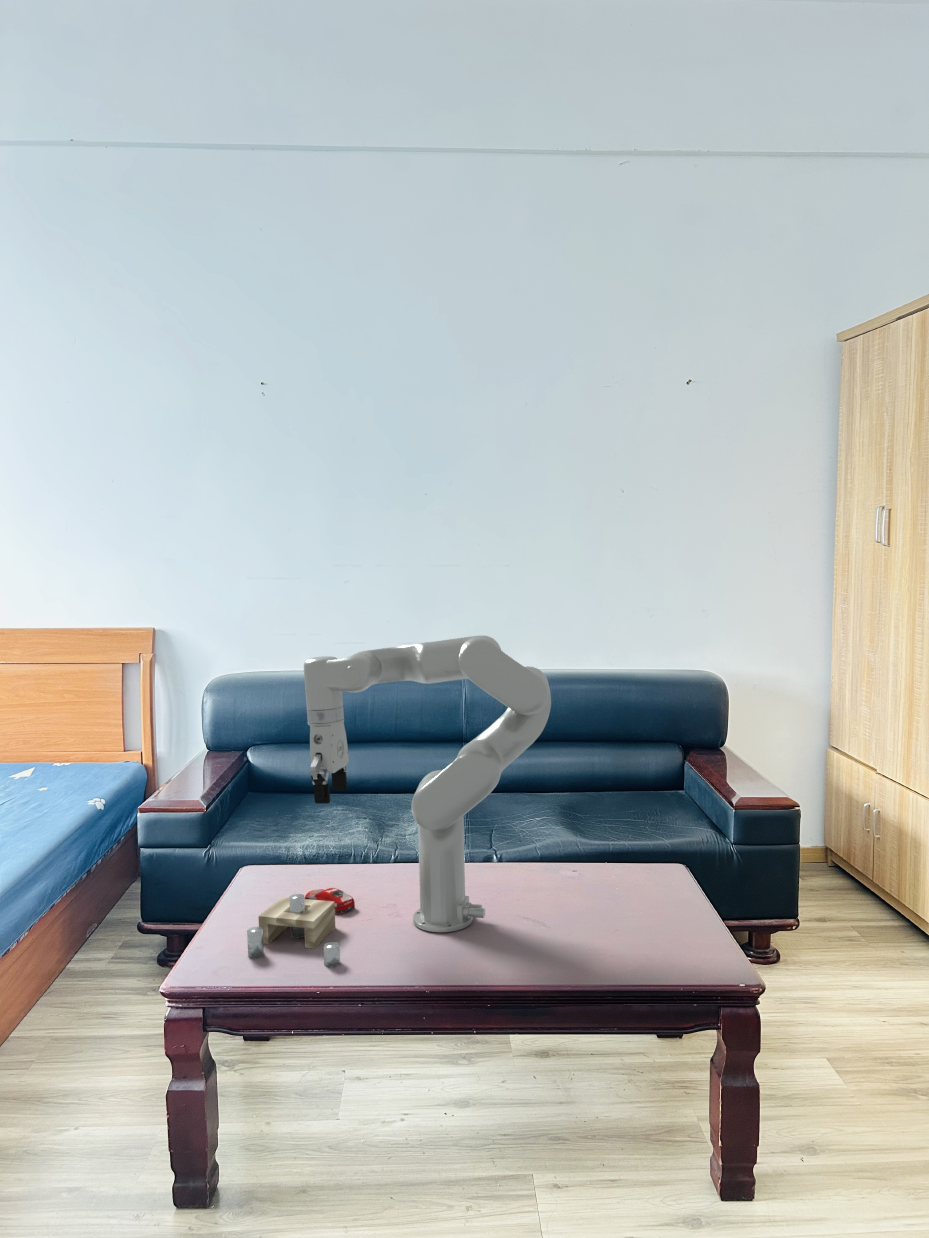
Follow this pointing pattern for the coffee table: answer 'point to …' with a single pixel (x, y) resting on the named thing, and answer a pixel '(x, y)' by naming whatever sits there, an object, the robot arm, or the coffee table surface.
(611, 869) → the coffee table surface
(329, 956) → the short pin
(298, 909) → the long pin
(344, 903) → the race car
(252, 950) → the medium pin
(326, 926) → the bridge
